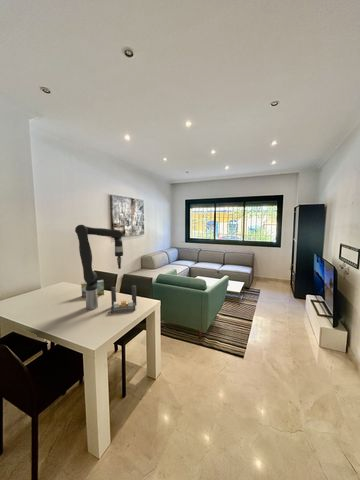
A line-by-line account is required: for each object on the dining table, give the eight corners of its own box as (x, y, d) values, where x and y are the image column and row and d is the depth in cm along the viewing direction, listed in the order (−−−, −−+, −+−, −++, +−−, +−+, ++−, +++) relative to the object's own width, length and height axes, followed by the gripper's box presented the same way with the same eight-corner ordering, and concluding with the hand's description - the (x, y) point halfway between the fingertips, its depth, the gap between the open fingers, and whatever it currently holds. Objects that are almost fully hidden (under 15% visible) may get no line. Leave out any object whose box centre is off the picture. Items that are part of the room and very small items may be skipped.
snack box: (81, 297, 199) (81, 283, 197) (82, 295, 204) (81, 281, 202) (104, 294, 207) (103, 281, 205) (104, 292, 212) (103, 279, 210)
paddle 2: (128, 306, 170) (128, 302, 170) (128, 304, 174) (128, 300, 174) (132, 305, 171) (132, 302, 171) (133, 303, 175) (132, 300, 175)
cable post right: (132, 305, 180) (131, 287, 178) (132, 304, 184) (131, 285, 182) (136, 305, 181) (135, 286, 179) (136, 303, 185) (135, 285, 183)
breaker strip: (111, 313, 166) (111, 308, 166) (112, 309, 173) (112, 304, 172) (135, 310, 171) (135, 305, 170) (135, 307, 177) (135, 302, 177)
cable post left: (111, 308, 176) (110, 288, 174) (112, 306, 180) (111, 287, 178) (116, 307, 177) (115, 288, 175) (116, 305, 181) (115, 286, 179)
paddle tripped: (121, 307, 169) (120, 303, 169) (121, 305, 173) (121, 301, 173) (125, 306, 170) (125, 302, 170) (126, 304, 174) (125, 300, 173)
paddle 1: (113, 307, 168) (113, 303, 167) (114, 305, 172) (114, 302, 171) (118, 307, 169) (118, 303, 168) (119, 305, 172) (118, 301, 172)
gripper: (115, 250, 192) (116, 267, 194) (114, 252, 179) (114, 270, 181) (123, 249, 194) (123, 266, 196) (122, 252, 181) (123, 270, 183)
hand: (119, 268), depth 189 cm, fingers closed
